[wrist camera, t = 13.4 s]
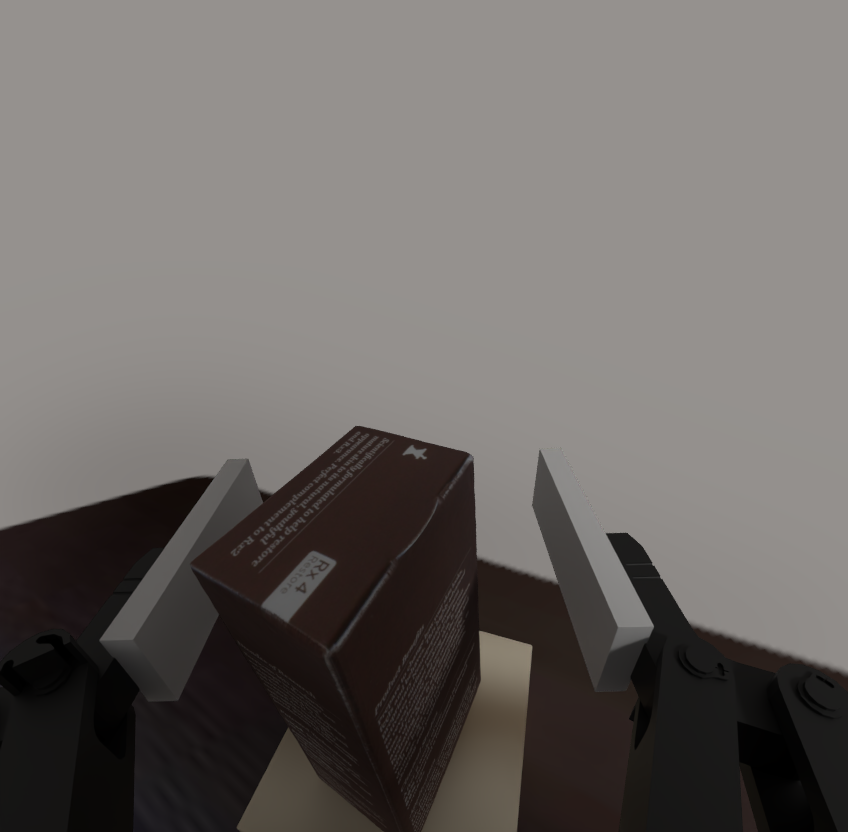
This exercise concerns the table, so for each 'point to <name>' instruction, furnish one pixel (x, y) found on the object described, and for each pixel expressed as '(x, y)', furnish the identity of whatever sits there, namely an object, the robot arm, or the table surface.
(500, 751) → the ash block
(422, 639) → the box
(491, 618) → the table surface
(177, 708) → the table surface
